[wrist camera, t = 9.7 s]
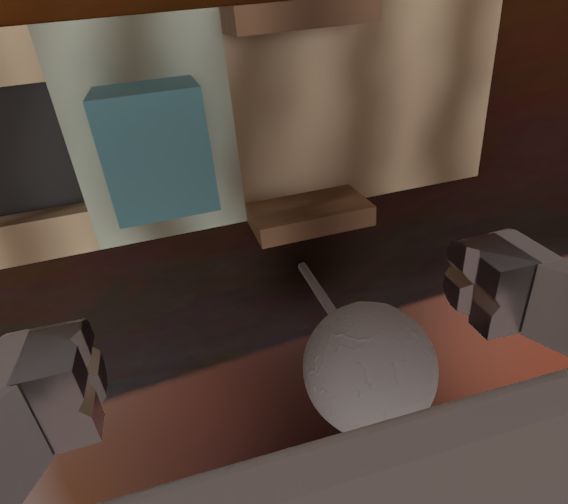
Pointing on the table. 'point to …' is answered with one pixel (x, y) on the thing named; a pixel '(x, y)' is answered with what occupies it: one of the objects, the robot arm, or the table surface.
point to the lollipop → (367, 363)
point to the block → (153, 149)
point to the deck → (248, 114)
